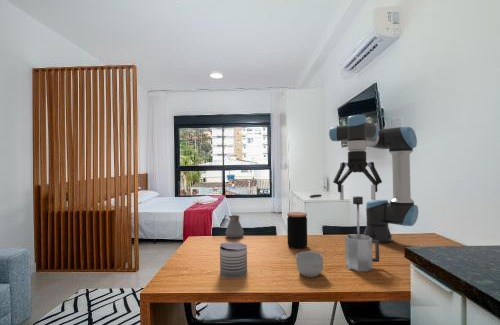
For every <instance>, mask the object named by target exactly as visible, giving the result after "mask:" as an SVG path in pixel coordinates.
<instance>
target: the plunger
mask: <svg viewBox="0 0 500 325" xmlns="http://www.w3.org/2000/svg"><path fill="white" fill-rule="evenodd" d="M352 204H353V205H356V234H357V238H353V239H355V240H364V239H360V235H361V232H360V205H363V204H364V197H363V196H352Z"/></svg>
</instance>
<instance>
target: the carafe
mask: <svg viewBox="0 0 500 325" xmlns="http://www.w3.org/2000/svg"><path fill="white" fill-rule="evenodd" d="M344 238H345V243H344V244H345V246H344V247H345V267H346V268H347V269H348V270H351V271H353V272H354V271H355V272H361V273H363V272H364V273H365V272H368V273H369V272H370V271H372V270H373V263H379V262H380V243H379V241H378V240H372V238H371V237H369V236H366V235H364V234H360V239H364V240H355V239H353V238H357V233H356V234H355V233H353V234H347V235H345V236H344ZM373 244H374V249H375V250H374V252H375V254H374V256H375V257H374V258H373Z"/></svg>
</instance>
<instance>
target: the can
mask: <svg viewBox="0 0 500 325" xmlns="http://www.w3.org/2000/svg"><path fill="white" fill-rule="evenodd" d="M219 271H220V273H219V274H220V276H221V277H222V278H226V279H239V278H243V277H245V276H246V275H247V273H248V246H247V244H244V243H241V242H236V241H235V242H233V241H227V242H221V243H220V244H219Z"/></svg>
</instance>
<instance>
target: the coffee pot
mask: <svg viewBox="0 0 500 325" xmlns="http://www.w3.org/2000/svg"><path fill="white" fill-rule="evenodd" d="M228 218H229V219H230V220H229V222H228V225H227V227H226V230H225V232H224V233H225V235H226V236H227V237H228V238H230V239H238V238H242V236H243V235H244V232H245V231H244V229H243V226H242V224H241V222H240V215H235V214H233V215H229V216H228Z"/></svg>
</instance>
